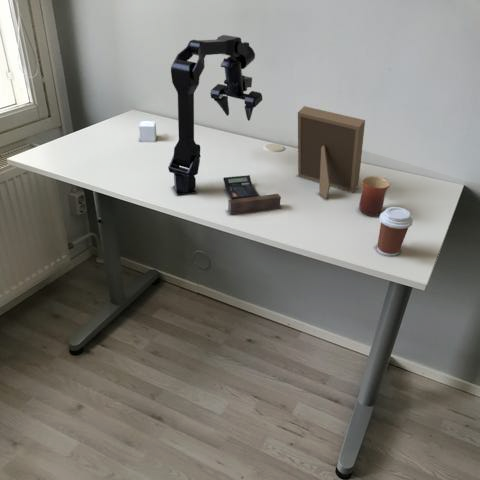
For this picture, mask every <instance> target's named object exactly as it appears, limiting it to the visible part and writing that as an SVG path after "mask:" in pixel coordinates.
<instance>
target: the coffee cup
mask: <svg viewBox="0 0 480 480" xmlns="http://www.w3.org/2000/svg"><path fill="white" fill-rule="evenodd" d="M411 215H412V214H411V212H410V211H409V210H408V209H405V208H403V207H399V206H389V207H387V208H386V209H385V210H384V211H382V212H380V214H379V216H378V217H379V218H378V219H379V221H380V226H379V232H378V239H377V247H376V249H377V251H378V253H380V254H382V255H384V256H389V257H394V256H397V255H399V254H400V250H401V248H402V246H403V243H404V240H405V238H406V236H407V232H408V230H409V229H410V227H412V226H413V224H414V223H413V222H414V219H413V217H412V216H411Z"/></svg>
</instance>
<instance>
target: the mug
mask: <svg viewBox="0 0 480 480" xmlns="http://www.w3.org/2000/svg"><path fill="white" fill-rule="evenodd" d="M361 185H362V191H361V195H360V198H359V199H360V200H359V204H358V205H359V206H358V211H360V213H361V214H362V215H365V216H369V217H375V216H378V215H380V214H381V213H382V210H383V207H384V203H385V202H384V201H385V197H386V194H387V191H388V190H389V188H390V187H391V182H390V181H389V179H388V178H385V177H380V176H375V175H374V176H365V177H363V178H362V180H361Z"/></svg>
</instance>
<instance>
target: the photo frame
mask: <svg viewBox="0 0 480 480" xmlns="http://www.w3.org/2000/svg"><path fill="white" fill-rule="evenodd" d="M365 126H366V119H362V118H357V117H354V116H349V115H344V114H341V113H337V112H333V111H332V112H331V111H327V110H322V109H319V108H314V107H309V106H306V105H303V107H302V108H301V109H300V110H299V111H298V112H297V177H300V178H302V179H305V180H310V181H312V182H316V183H319V188H318V189H319V192H318V194H319V195H320V196H321V197H323V198H324V199H328V196H329V192H330V189H331V187H333V188H337V189H339V190H342V191H346V192H349V193H354V192H355V190H356V189H357V188H358V187H359V185H360V184H359V182H360V173H361V165H362V163H361V162H362V154H363V145H364V136H365Z"/></svg>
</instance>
